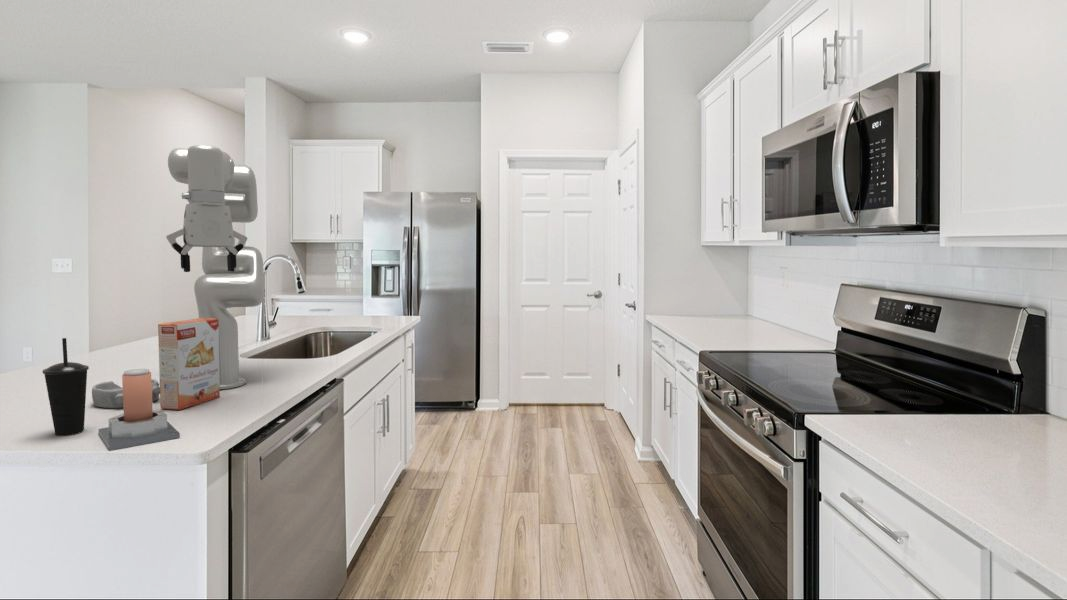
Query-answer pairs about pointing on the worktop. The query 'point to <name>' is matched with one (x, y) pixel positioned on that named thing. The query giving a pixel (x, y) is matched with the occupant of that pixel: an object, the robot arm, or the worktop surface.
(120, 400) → the dish
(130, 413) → the cylinder
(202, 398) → the cracker box
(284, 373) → the worktop surface
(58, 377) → the drinking cup
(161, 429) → the ring block
